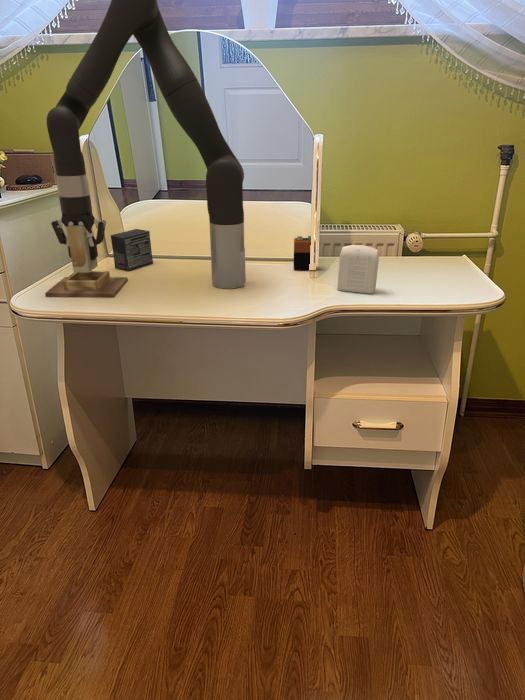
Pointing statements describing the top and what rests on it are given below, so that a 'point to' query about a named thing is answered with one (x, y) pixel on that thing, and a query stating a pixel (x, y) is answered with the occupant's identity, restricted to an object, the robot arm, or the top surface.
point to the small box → (132, 249)
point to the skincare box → (80, 249)
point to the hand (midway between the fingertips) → (84, 259)
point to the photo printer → (358, 269)
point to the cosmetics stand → (88, 285)
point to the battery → (302, 253)
